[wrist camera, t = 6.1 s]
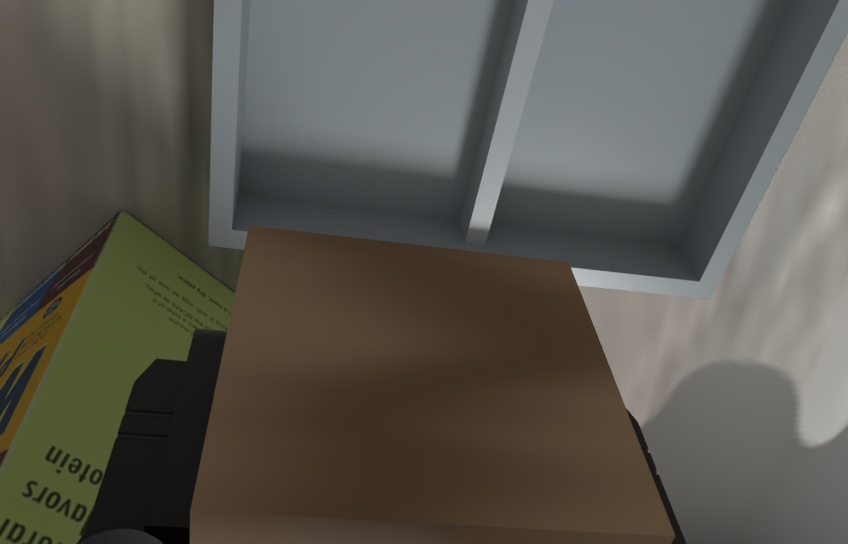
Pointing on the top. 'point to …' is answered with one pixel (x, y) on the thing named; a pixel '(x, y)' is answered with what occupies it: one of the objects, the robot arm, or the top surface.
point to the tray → (515, 125)
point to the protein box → (88, 369)
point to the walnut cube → (415, 404)
